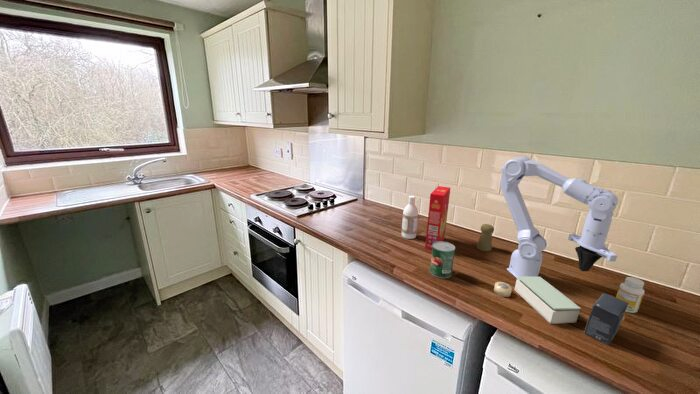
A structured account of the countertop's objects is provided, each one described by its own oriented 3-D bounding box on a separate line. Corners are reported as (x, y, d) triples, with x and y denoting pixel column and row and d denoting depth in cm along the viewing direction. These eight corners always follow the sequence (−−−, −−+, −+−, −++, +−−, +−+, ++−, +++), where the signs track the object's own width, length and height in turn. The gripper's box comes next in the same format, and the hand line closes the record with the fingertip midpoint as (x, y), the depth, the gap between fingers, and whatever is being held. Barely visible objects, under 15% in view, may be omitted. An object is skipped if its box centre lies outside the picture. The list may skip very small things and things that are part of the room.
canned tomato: (425, 271, 106) (428, 245, 103) (437, 264, 111) (440, 239, 108) (444, 281, 100) (447, 253, 97) (456, 273, 105) (459, 246, 102)
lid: (517, 277, 94) (517, 276, 94) (539, 277, 95) (540, 276, 95) (554, 309, 79) (555, 308, 79) (580, 309, 80) (581, 308, 80)
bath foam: (398, 234, 137) (401, 195, 131) (410, 232, 140) (413, 193, 134) (407, 240, 131) (410, 199, 125) (419, 237, 134) (422, 197, 128)
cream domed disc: (490, 288, 97) (491, 281, 96) (504, 287, 97) (505, 281, 96) (499, 297, 92) (500, 290, 91) (513, 296, 92) (515, 290, 92)
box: (609, 346, 73) (620, 316, 70) (583, 333, 77) (592, 304, 74) (619, 331, 78) (629, 302, 75) (594, 319, 83) (602, 291, 80)
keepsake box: (514, 289, 96) (516, 279, 95) (536, 288, 96) (539, 278, 95) (550, 323, 81) (553, 311, 79) (576, 322, 81) (579, 310, 80)
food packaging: (437, 251, 122) (443, 195, 114) (425, 248, 124) (430, 193, 117) (444, 238, 134) (450, 187, 127) (433, 236, 136) (438, 186, 129)
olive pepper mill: (473, 246, 126) (477, 223, 123) (482, 244, 129) (486, 221, 126) (485, 252, 121) (489, 228, 118) (494, 249, 124) (498, 226, 120)
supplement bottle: (625, 301, 90) (634, 275, 88) (642, 313, 85) (653, 285, 82) (609, 302, 90) (617, 275, 87) (625, 313, 85) (635, 285, 82)
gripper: (632, 240, 79) (618, 283, 83) (586, 221, 93) (576, 258, 97) (608, 241, 78) (595, 283, 82) (566, 221, 92) (557, 259, 96)
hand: (583, 270), depth 90 cm, fingers closed
